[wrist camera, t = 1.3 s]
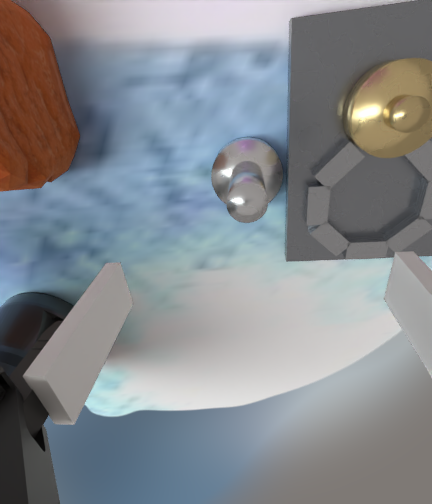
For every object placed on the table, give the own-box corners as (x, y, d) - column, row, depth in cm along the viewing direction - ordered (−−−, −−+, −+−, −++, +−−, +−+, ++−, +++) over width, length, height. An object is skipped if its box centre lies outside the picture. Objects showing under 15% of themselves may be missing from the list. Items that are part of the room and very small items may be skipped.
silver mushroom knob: (216, 206, 33) (208, 245, 25) (209, 140, 29) (197, 162, 22) (281, 202, 32) (291, 241, 24) (281, 133, 28) (294, 154, 21)
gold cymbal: (338, 154, 27) (353, 167, 23) (348, 65, 24) (368, 63, 20) (420, 147, 26) (450, 160, 22) (443, 53, 23) (483, 49, 19)
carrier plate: (284, 254, 35) (287, 267, 33) (289, 21, 24) (293, 15, 21) (431, 248, 33) (445, 261, 31) (512, -10, 22) (543, -20, 19)
